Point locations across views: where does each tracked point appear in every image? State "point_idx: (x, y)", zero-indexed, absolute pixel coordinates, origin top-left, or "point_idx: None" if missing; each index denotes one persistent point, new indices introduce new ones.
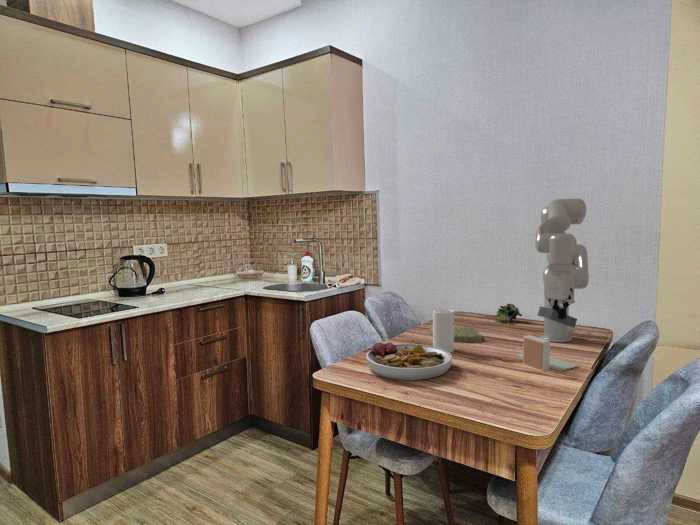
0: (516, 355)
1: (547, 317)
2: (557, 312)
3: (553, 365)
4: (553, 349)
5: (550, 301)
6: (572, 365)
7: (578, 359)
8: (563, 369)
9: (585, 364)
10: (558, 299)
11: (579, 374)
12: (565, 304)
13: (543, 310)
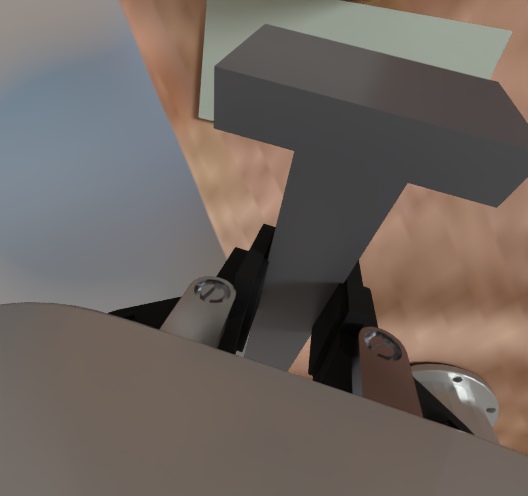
0: (503, 30)
1: (314, 36)
2: (272, 241)
3: (263, 20)
4: (382, 279)
5: (431, 417)
6: (212, 99)
7: (253, 218)
8: (207, 8)
9: (206, 176)
10: (171, 334)
11: (145, 20)
12: (142, 317)
13: (424, 97)
